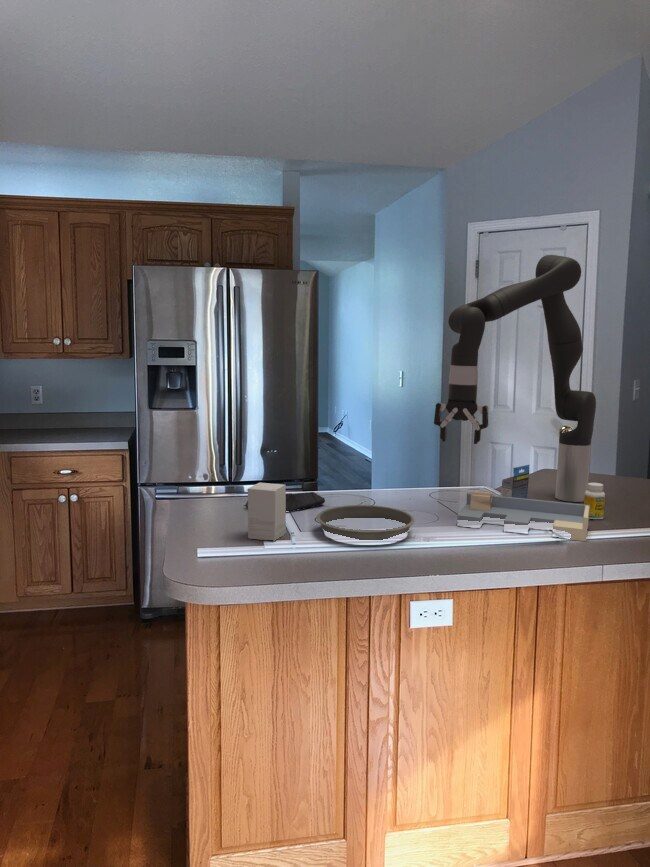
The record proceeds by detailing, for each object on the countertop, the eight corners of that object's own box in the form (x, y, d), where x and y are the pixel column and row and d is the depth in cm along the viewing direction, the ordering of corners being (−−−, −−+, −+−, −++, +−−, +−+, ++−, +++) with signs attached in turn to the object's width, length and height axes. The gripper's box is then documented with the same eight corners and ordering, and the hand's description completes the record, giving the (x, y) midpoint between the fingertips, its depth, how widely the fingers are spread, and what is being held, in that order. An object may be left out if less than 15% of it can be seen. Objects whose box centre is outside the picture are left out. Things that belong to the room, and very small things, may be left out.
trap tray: (466, 513, 206) (467, 492, 206) (587, 527, 195) (589, 505, 194) (456, 526, 194) (457, 504, 193) (585, 541, 182) (587, 517, 181)
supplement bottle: (591, 514, 209) (593, 481, 207) (607, 518, 204) (610, 484, 203) (578, 516, 206) (581, 483, 204) (595, 521, 201) (597, 486, 200)
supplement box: (286, 534, 184) (287, 484, 182) (274, 542, 177) (275, 490, 175) (259, 530, 186) (259, 481, 184) (246, 538, 179) (246, 487, 177)
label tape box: (515, 502, 221) (517, 462, 219) (527, 505, 218) (530, 464, 216) (499, 507, 215) (501, 465, 213) (511, 510, 212) (514, 468, 210)
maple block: (473, 505, 204) (474, 491, 203) (491, 507, 202) (492, 493, 202) (470, 509, 199) (470, 495, 199) (488, 511, 198) (489, 496, 197)
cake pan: (304, 524, 194) (304, 507, 193) (391, 518, 201) (391, 502, 201) (333, 552, 171) (334, 533, 170) (430, 544, 178) (431, 526, 177)
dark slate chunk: (332, 509, 211) (332, 492, 210) (263, 518, 199) (263, 501, 199) (305, 497, 224) (306, 482, 223) (239, 506, 212) (239, 489, 212)
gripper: (492, 383, 199) (488, 442, 201) (439, 380, 204) (436, 438, 206) (487, 384, 192) (484, 446, 194) (433, 382, 197) (430, 442, 199)
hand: (459, 442), depth 200 cm, fingers open, 8 cm apart
